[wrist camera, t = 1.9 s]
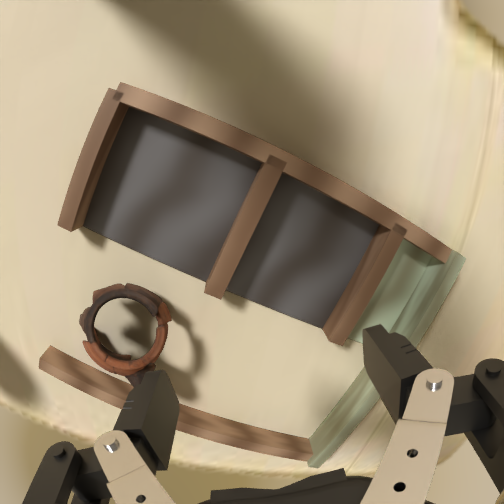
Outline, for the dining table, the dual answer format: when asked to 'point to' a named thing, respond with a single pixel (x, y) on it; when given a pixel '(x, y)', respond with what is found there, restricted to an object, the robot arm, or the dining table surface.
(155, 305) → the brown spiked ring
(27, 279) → the dining table surface
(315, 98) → the dining table surface
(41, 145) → the dining table surface
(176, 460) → the dining table surface
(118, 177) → the wooden divided tray
